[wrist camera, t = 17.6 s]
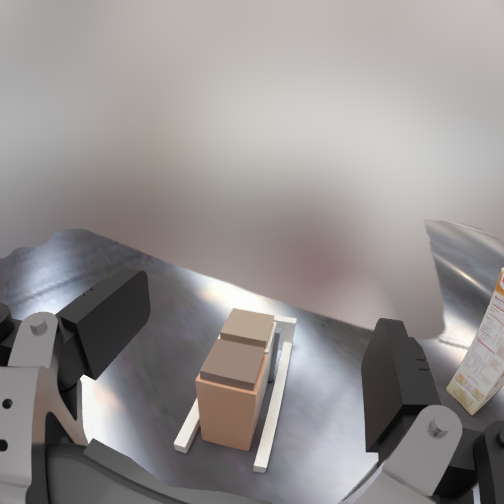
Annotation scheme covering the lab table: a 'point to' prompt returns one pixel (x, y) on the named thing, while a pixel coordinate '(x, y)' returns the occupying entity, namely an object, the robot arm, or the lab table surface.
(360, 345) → the lab table surface
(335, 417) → the lab table surface
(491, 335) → the coffeecake box
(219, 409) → the terracotta canister
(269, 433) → the lane
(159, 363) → the lab table surface
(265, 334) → the cream canister
